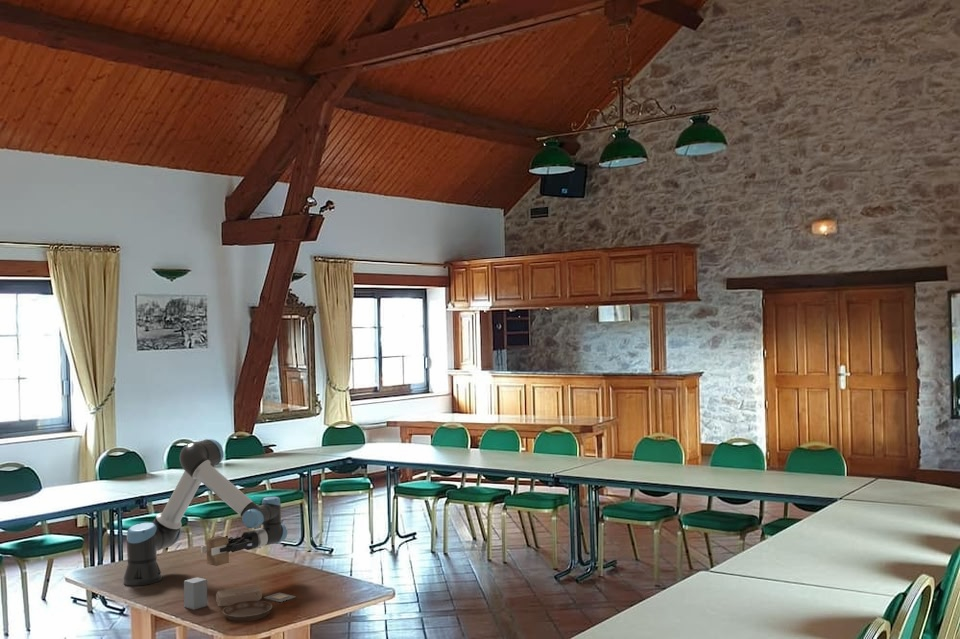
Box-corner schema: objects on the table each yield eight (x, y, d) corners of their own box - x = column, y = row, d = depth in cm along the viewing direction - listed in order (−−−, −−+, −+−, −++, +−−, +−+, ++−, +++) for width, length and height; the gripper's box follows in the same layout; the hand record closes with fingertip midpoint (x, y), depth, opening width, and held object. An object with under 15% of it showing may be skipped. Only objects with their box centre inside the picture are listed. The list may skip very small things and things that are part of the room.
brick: (218, 607, 349) (218, 595, 349) (215, 601, 357) (215, 589, 357) (262, 601, 356) (262, 589, 356) (258, 596, 364) (258, 584, 364)
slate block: (184, 607, 350) (183, 580, 350) (197, 603, 355) (197, 577, 355) (193, 609, 346) (193, 583, 346) (207, 605, 351) (206, 579, 351)
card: (263, 598, 359) (263, 596, 359) (279, 593, 365) (279, 592, 365) (280, 602, 353) (280, 601, 353) (296, 597, 359) (296, 596, 359)
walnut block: (207, 564, 364) (206, 538, 364) (219, 560, 369) (218, 535, 369) (216, 566, 360) (215, 540, 360) (228, 562, 365) (228, 537, 365)
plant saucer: (257, 625, 327) (257, 616, 327) (213, 622, 332) (213, 613, 332) (281, 610, 344) (280, 602, 344) (238, 607, 349) (238, 599, 349)
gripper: (269, 551, 373) (222, 563, 355) (239, 545, 385) (192, 557, 366) (268, 532, 373) (221, 544, 355) (238, 527, 385) (191, 538, 366)
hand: (206, 550), depth 360 cm, fingers closed on walnut block, 6 cm apart
